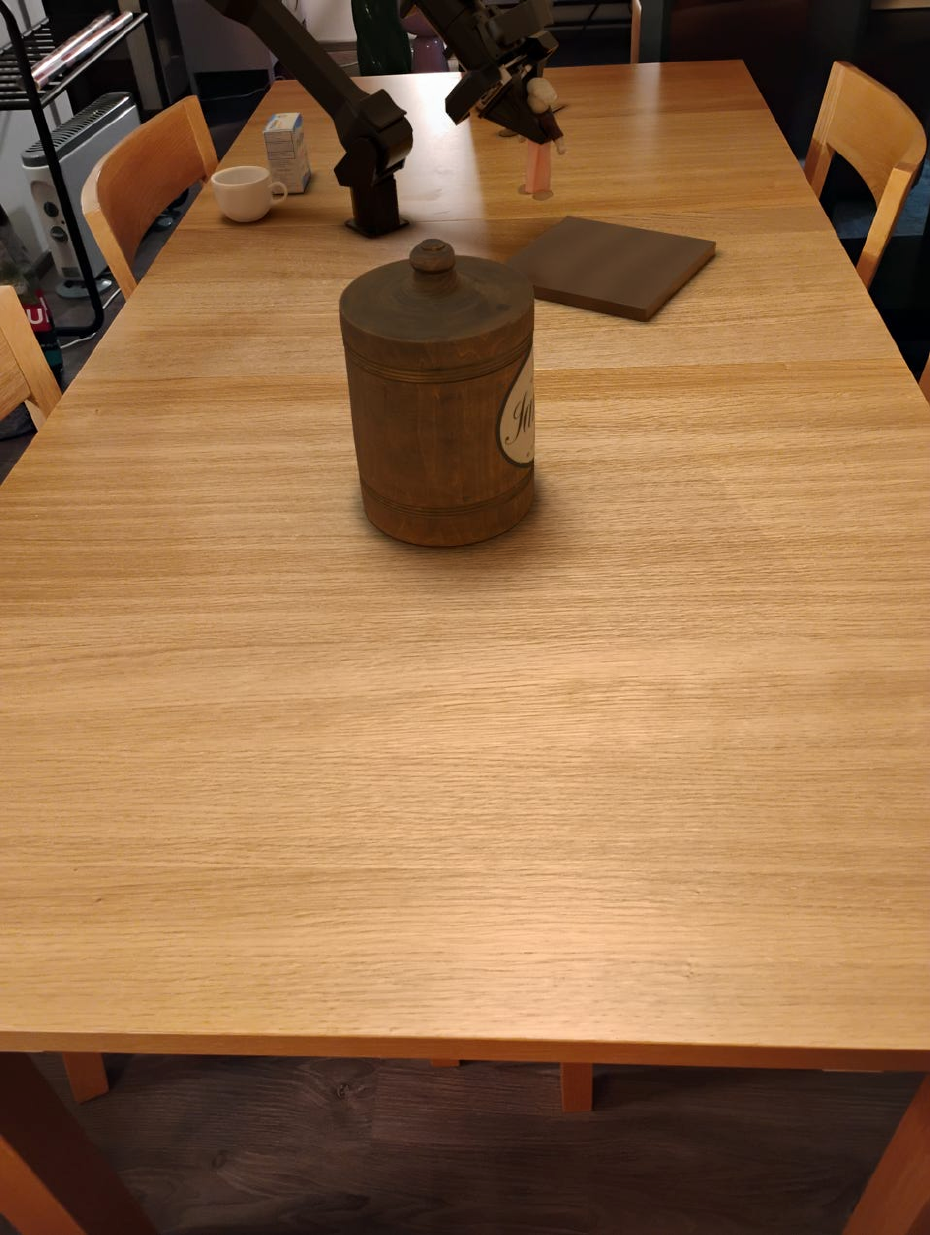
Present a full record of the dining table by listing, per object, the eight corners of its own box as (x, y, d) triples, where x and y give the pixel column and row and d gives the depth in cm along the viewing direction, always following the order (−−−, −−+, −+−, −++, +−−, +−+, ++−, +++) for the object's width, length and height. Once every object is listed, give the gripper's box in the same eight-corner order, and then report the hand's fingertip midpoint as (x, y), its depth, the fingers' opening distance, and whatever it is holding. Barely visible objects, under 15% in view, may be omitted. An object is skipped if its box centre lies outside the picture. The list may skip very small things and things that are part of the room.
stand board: (714, 253, 120) (716, 241, 119) (645, 322, 107) (646, 309, 106) (567, 227, 128) (567, 215, 127) (487, 287, 116) (486, 275, 115)
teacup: (212, 226, 134) (203, 185, 131) (229, 205, 140) (220, 165, 136) (283, 226, 133) (276, 185, 129) (298, 205, 138) (291, 165, 135)
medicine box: (303, 193, 142) (293, 128, 136) (273, 195, 142) (261, 130, 136) (311, 174, 148) (301, 111, 142) (281, 176, 148) (271, 113, 142)
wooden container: (559, 526, 82) (564, 265, 67) (384, 565, 79) (348, 302, 64) (504, 434, 92) (497, 191, 77) (347, 466, 90) (310, 221, 75)
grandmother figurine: (503, 193, 119) (501, 77, 110) (522, 184, 121) (522, 69, 113) (555, 207, 115) (558, 87, 107) (574, 197, 117) (578, 79, 109)
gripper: (465, -19, 98) (565, 113, 101) (543, -54, 110) (630, 65, 113) (403, 63, 106) (497, 182, 110) (482, 22, 118) (565, 131, 122)
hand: (550, 138), depth 113 cm, fingers closed on grandmother figurine, 3 cm apart
